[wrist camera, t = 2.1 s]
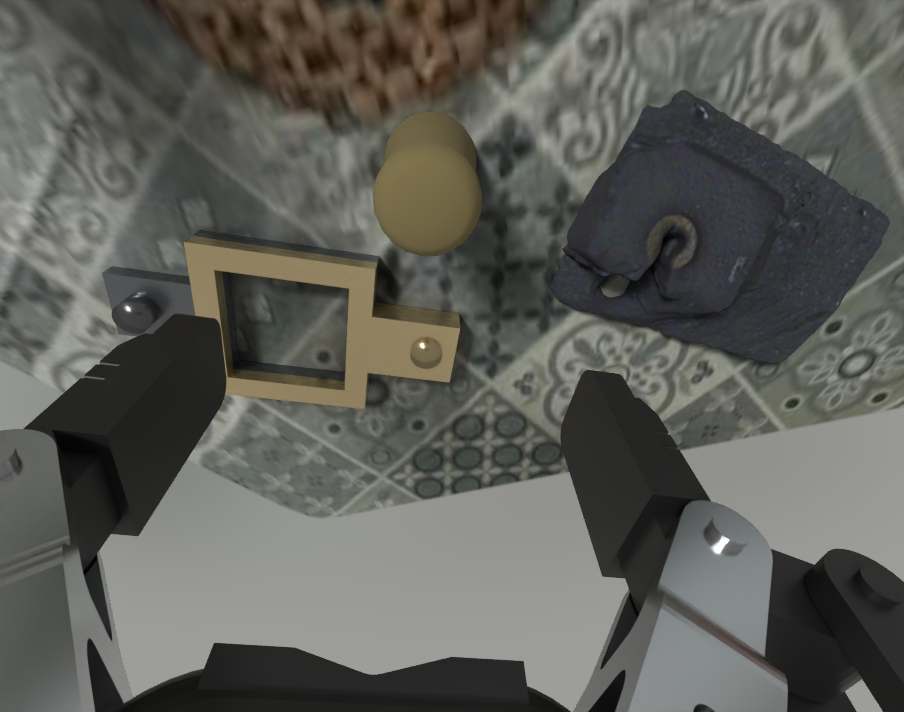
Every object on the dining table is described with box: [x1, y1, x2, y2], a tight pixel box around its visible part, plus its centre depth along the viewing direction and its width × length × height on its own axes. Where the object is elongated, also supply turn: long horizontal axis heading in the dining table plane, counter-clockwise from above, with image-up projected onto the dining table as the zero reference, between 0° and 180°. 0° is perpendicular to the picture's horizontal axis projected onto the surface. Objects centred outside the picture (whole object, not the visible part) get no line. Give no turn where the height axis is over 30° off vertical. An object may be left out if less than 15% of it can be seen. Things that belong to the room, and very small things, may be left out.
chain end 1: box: [102, 230, 379, 395], centre depth 34 cm, size 12×19×3 cm, turn 81°
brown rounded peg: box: [373, 112, 482, 256], centre depth 25 cm, size 6×6×11 cm
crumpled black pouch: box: [550, 90, 890, 364], centre depth 32 cm, size 15×22×5 cm
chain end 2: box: [184, 236, 460, 409], centre depth 35 cm, size 12×19×3 cm, turn 81°
